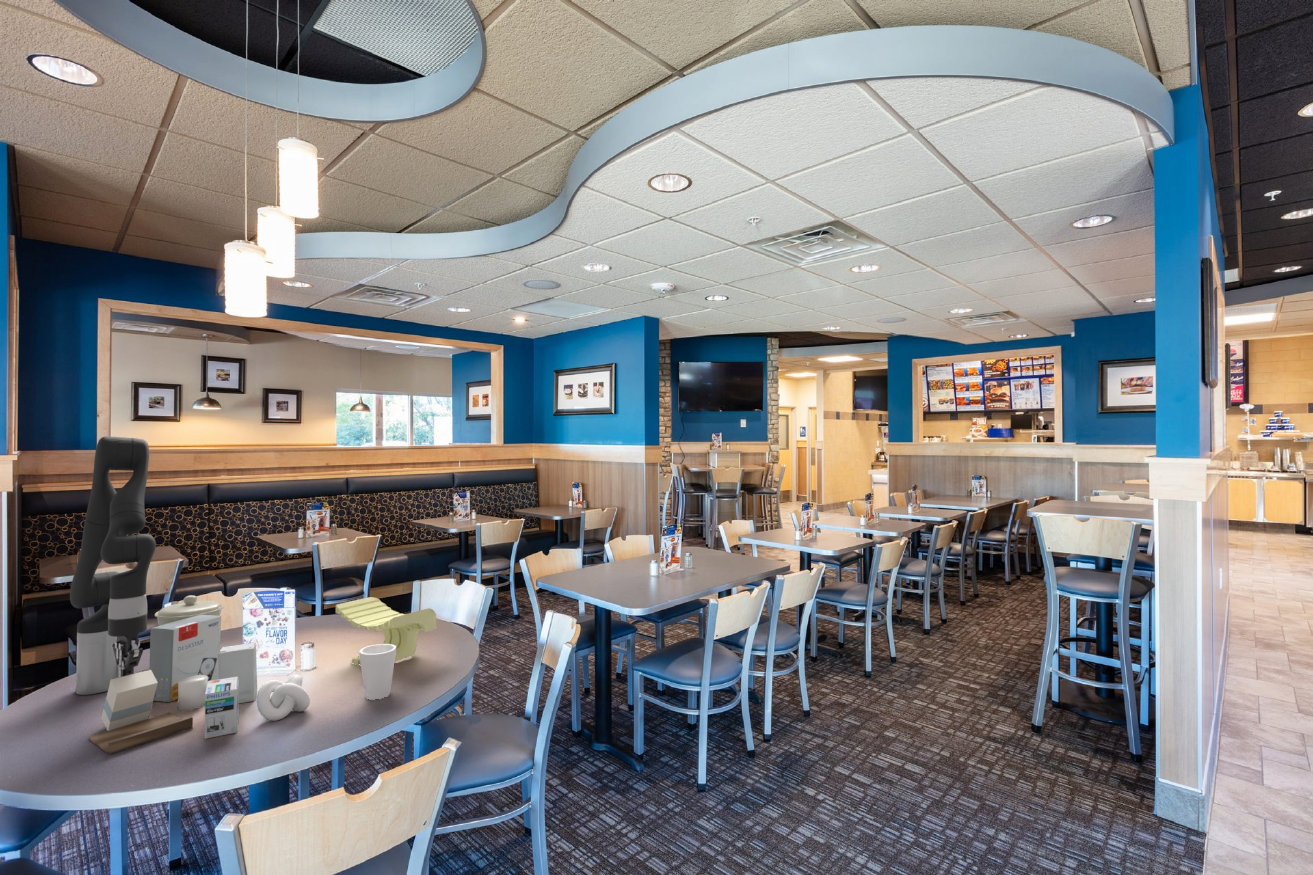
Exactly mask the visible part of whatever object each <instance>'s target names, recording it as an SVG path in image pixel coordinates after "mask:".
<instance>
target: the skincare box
mask: <svg viewBox="0 0 1313 875" xmlns="http://www.w3.org/2000/svg"><path fill="white" fill-rule="evenodd" d="M256 642H257V641H256ZM256 642H249V643H243V644H237V645H230V646H222V647H221V648H220V652H219V654H218V662H219V679H225V678H232V677H239V704H242V703H249V702H255V699H256V698H257V694H258V672H257V671H258V669H257V667H258V666H257V664H258V663H257V643H256Z"/></svg>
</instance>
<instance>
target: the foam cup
mask: <svg viewBox="0 0 1313 875" xmlns="http://www.w3.org/2000/svg"><path fill="white" fill-rule="evenodd" d="M358 654H359V655H358V656H359V660H360V663H361V666H360V668H361V675H362V676H361V678H362V684H363V690H364V696H365V697H364V698H365V699H366V700H368V699H369V701H376V700H375V699H379V700H382V698H383V699H385V698H384V697H386V698H387V697H389V696H390V694H391V690H392V689H391V688H392V682H393V676H394V675H393V674H394V666H395V665H394V662H395V656H396V646H395V645H392V644H383V643H379V644H378V643H377V644H371V645H367V646H365V647H362V648H360V650H359V652H358ZM388 695H389V696H388Z"/></svg>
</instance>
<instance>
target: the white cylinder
mask: <svg viewBox="0 0 1313 875" xmlns="http://www.w3.org/2000/svg"><path fill="white" fill-rule="evenodd" d="M207 683H208V676H206V675H195V676H190V677H186V678H183V679H181V680H179V681H178V699H177V710H178V711H179V710H180V711H191V710H195V709H199V708H202V707H205V692H206V687H207Z"/></svg>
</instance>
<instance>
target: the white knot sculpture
mask: <svg viewBox="0 0 1313 875" xmlns="http://www.w3.org/2000/svg"><path fill="white" fill-rule="evenodd" d="M302 684H303V677H302V676H301V675H300V674H293V675H292V676H291V677H289V678H288V680H287V681H286V682H283V681H281V680H277V679H271V680H268V681H266V682H264V683H263V684H261V686H260V688H259V689H258V690H257V695H256V707H257V709H258V710H257V711H258V712H259V713H260V715H261V716H262V717H263V719H266V720H268V721H272V722H276V721H279V720H282V719H284V718H286V717H287V716H288V715H289V714H290V713H291V712H292V711H295V712H298V713H301V712H303V711H306V710H307V709H308V708H309V706H310V703H311V699H310V695H309V694H308V692H307V691H306V690H305V689H304V688H303V687H302Z"/></svg>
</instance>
